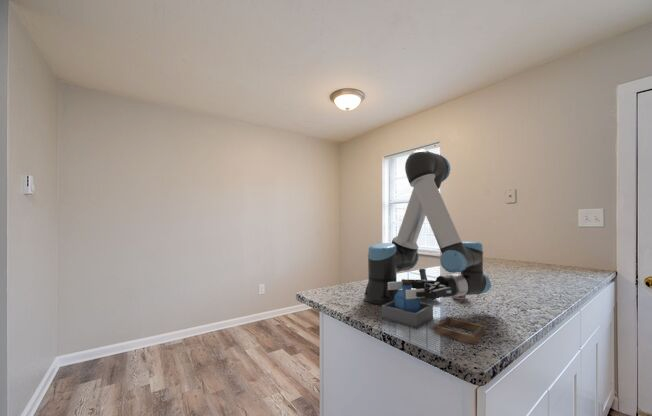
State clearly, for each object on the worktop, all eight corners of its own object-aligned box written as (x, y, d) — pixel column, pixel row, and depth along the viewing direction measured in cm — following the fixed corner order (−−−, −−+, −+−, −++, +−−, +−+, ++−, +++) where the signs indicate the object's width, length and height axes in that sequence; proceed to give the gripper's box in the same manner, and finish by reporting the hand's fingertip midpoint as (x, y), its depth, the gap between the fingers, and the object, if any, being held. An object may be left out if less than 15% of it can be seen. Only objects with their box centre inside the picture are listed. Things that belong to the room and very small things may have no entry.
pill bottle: (448, 296, 122) (447, 274, 122) (457, 295, 124) (457, 273, 124) (459, 300, 117) (458, 276, 117) (468, 298, 119) (468, 275, 119)
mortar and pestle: (442, 301, 114) (442, 272, 115) (420, 301, 114) (420, 272, 115) (431, 294, 126) (431, 267, 126) (411, 294, 125) (410, 267, 126)
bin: (381, 318, 95) (381, 305, 95) (399, 310, 104) (399, 298, 104) (416, 329, 86) (416, 314, 86) (433, 318, 95) (432, 305, 95)
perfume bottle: (404, 320, 91) (403, 283, 92) (394, 314, 97) (394, 279, 97) (420, 318, 93) (420, 282, 93) (409, 312, 99) (409, 278, 99)
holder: (434, 333, 83) (434, 326, 83) (447, 323, 91) (447, 316, 91) (474, 344, 75) (474, 337, 75) (485, 332, 83) (485, 325, 83)
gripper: (476, 305, 89) (417, 312, 83) (429, 288, 111) (380, 292, 105) (475, 282, 89) (417, 287, 83) (429, 269, 112) (380, 272, 105)
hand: (396, 290), depth 94 cm, fingers open, 11 cm apart
